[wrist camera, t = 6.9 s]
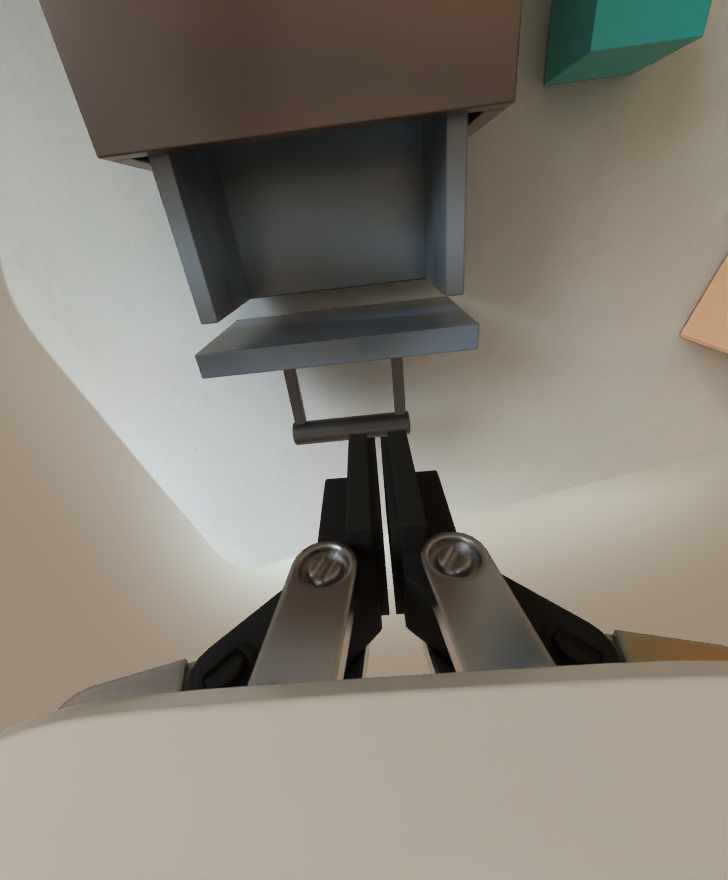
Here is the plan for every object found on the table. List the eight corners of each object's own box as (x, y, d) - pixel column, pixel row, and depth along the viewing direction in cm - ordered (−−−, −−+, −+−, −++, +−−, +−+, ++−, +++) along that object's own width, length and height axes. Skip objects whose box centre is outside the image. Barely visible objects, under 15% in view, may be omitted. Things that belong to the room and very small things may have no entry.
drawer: (446, 397, 27) (473, 450, 21) (263, 415, 28) (234, 473, 21) (448, 16, 17) (499, -101, 11) (166, 57, 18) (61, -32, 12)
